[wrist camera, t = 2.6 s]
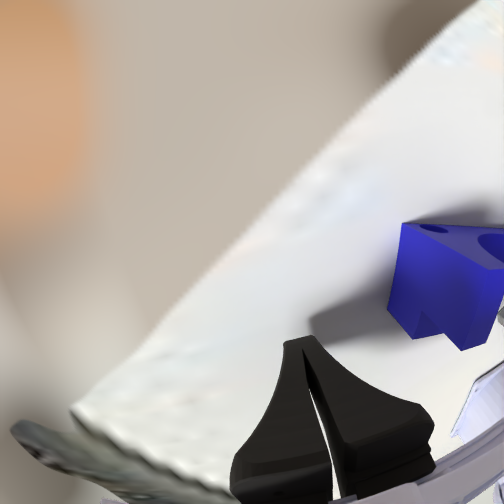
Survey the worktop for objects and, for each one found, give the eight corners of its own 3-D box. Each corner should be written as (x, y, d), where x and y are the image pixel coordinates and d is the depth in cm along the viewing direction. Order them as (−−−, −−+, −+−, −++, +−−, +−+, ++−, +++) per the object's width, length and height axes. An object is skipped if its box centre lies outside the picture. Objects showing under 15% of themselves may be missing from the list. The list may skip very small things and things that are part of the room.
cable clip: (385, 307, 13) (446, 382, 8) (399, 222, 12) (488, 270, 6) (509, 288, 14) (560, 326, 8) (523, 229, 12) (582, 258, 7)
